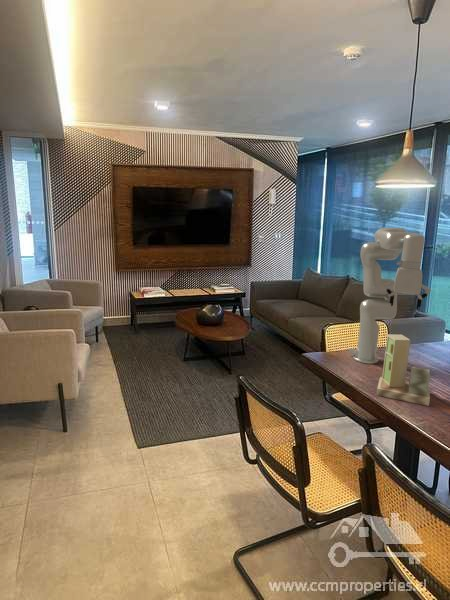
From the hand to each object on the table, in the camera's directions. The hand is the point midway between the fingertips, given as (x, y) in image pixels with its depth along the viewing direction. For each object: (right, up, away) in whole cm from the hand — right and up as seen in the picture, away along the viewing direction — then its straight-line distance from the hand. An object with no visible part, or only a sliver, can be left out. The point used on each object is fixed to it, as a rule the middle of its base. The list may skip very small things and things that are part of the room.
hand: (404, 306), depth 174 cm
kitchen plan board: (+2, -37, +7) cm, 38 cm away
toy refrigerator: (-2, -33, +9) cm, 35 cm away
